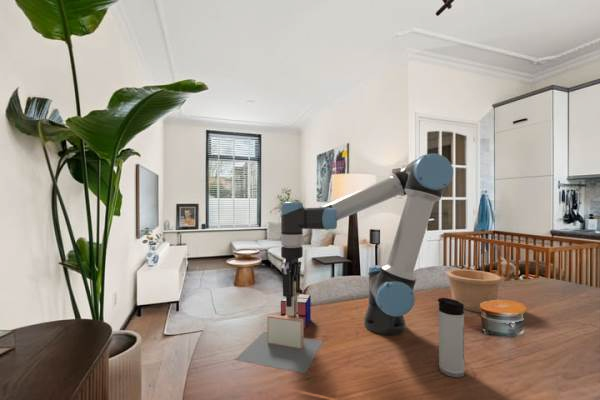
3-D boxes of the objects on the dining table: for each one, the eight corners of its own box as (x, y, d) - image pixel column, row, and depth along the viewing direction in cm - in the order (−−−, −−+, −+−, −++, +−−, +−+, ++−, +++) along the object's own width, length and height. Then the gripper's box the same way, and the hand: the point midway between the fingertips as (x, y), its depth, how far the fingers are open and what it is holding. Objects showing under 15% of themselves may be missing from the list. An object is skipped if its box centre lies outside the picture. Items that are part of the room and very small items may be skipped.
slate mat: (323, 342, 98) (323, 340, 98) (305, 375, 79) (305, 373, 79) (264, 332, 105) (264, 331, 105) (234, 361, 86) (234, 359, 86)
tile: (303, 346, 94) (303, 318, 94) (301, 349, 92) (301, 321, 92) (269, 341, 97) (269, 314, 98) (267, 343, 96) (267, 316, 96)
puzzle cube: (306, 329, 108) (306, 302, 108) (280, 327, 110) (280, 301, 110) (310, 319, 118) (310, 294, 118) (286, 317, 120) (286, 293, 120)
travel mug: (433, 365, 84) (433, 296, 84) (455, 364, 84) (454, 295, 84) (446, 378, 77) (445, 303, 78) (469, 377, 78) (469, 302, 78)
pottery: (501, 303, 136) (500, 272, 136) (503, 319, 118) (503, 283, 118) (449, 295, 148) (449, 267, 148) (444, 308, 129) (444, 276, 129)
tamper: (300, 320, 102) (300, 280, 103) (295, 325, 98) (295, 284, 98) (287, 318, 104) (287, 279, 104) (282, 323, 99) (282, 282, 100)
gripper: (290, 242, 110) (290, 304, 110) (272, 248, 95) (272, 320, 95) (309, 243, 108) (308, 307, 107) (294, 249, 92) (293, 323, 92)
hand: (291, 313), depth 101 cm, fingers closed on tamper, 3 cm apart
